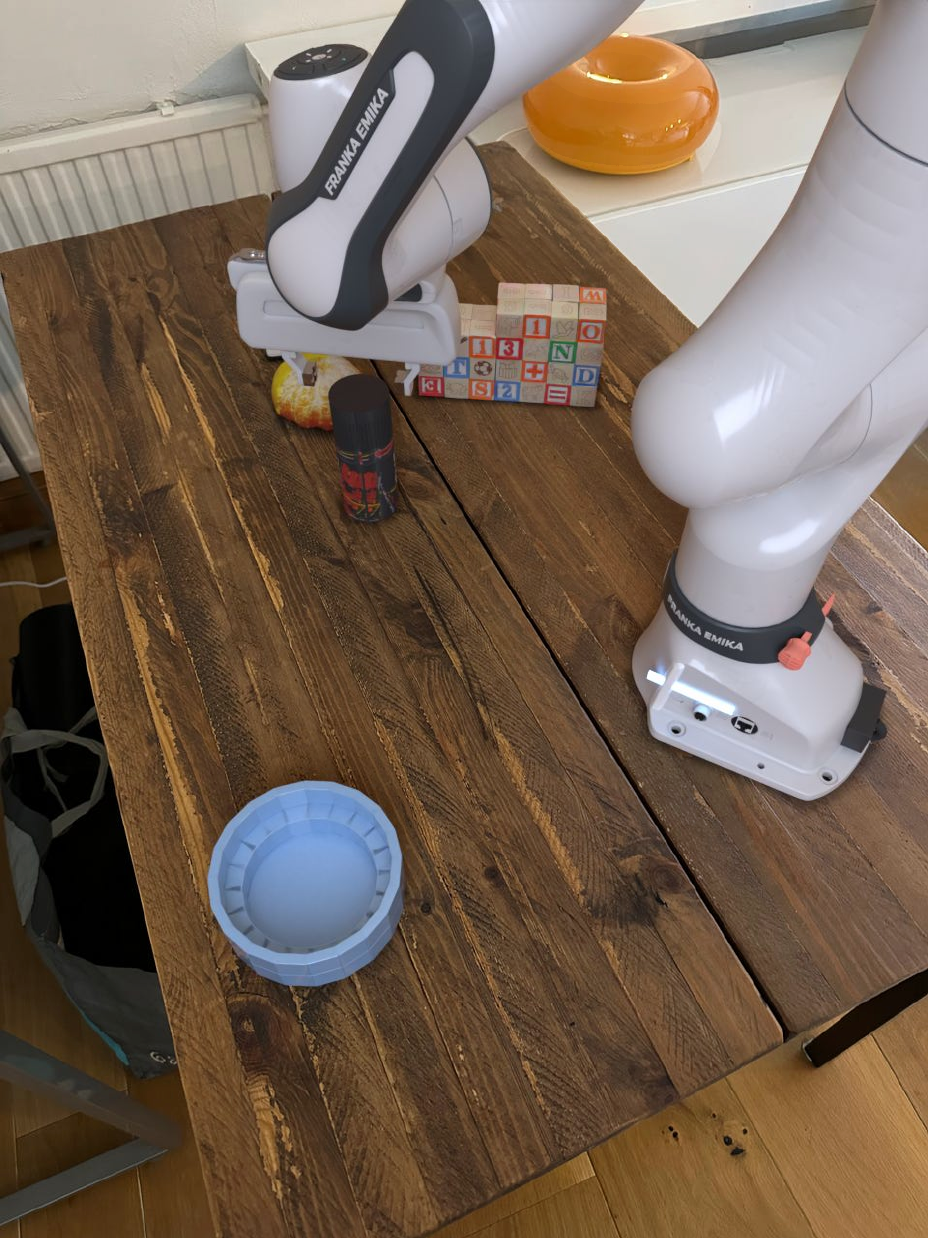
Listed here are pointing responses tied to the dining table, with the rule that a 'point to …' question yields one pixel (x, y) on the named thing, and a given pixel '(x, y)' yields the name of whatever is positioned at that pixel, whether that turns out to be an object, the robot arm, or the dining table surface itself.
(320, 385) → the fruit
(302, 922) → the bowl
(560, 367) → the stack of blocks
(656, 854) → the dining table surface
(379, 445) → the deodorant
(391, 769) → the dining table surface
